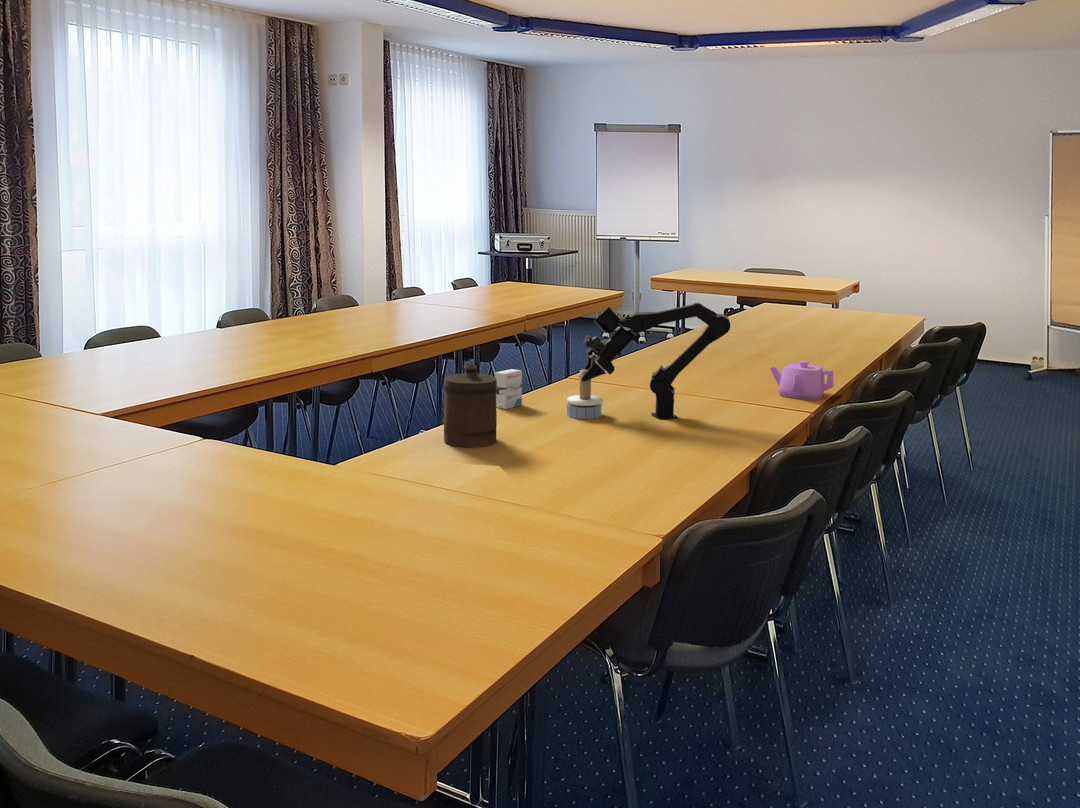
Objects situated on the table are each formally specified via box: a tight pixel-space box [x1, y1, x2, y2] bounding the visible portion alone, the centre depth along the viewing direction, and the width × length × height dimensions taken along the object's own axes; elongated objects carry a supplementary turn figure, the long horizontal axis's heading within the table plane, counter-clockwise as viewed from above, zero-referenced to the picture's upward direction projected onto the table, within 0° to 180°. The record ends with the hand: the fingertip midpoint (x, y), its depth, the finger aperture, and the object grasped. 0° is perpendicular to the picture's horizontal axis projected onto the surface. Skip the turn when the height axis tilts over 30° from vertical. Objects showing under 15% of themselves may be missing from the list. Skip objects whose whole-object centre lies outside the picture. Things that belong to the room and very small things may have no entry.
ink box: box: [494, 368, 523, 410], centre depth 312 cm, size 8×5×12 cm, turn 141°
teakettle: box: [769, 360, 835, 401], centre depth 335 cm, size 17×17×12 cm
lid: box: [566, 369, 604, 406], centre depth 301 cm, size 11×11×10 cm
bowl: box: [566, 402, 603, 420], centre depth 302 cm, size 11×11×4 cm
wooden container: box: [443, 363, 498, 448], centre depth 268 cm, size 15×15×22 cm
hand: (581, 379), depth 300 cm, fingers closed on lid, 3 cm apart
